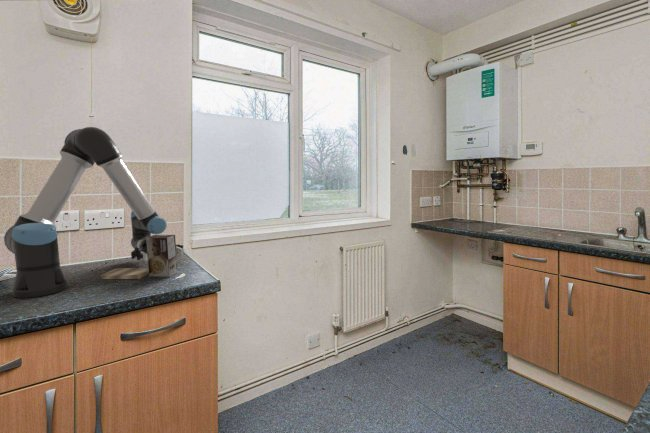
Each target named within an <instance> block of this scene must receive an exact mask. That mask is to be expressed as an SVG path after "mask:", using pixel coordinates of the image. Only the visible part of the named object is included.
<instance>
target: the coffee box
mask: <svg viewBox="0 0 650 433" xmlns="http://www.w3.org/2000/svg"><path fill="white" fill-rule="evenodd" d="M146 242H147V254H148V256H147V258H148V261H147V263H148V264H147V266H148V267H147V268H149V274H148V277H163V278H164V277H165V278H166V277H170V278H171V277H173V276H174V275H176V274H177V273H178V258H177V253H176V245H177V244H176V243H177V242H176V234H151V236H150V237H147V238H146Z"/></svg>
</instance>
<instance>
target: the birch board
mask: <svg viewBox="0 0 650 433" xmlns="http://www.w3.org/2000/svg"><path fill="white" fill-rule="evenodd" d="M147 275H149V267H128V268H127V267H126V268H125V267H119V268H117V267H115V268H114V269H112V270H109V271H107V272H105V273H103V274H101V275H100V280H136V279H137V280H140V279H142V278H143V277H145V276H147Z"/></svg>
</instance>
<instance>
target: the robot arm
mask: <svg viewBox="0 0 650 433" xmlns="http://www.w3.org/2000/svg"><path fill="white" fill-rule="evenodd" d="M63 142H64V143H63V146H62V147H61V149H60V151H59V154H60V156H61V158H60V159H59V160H60V161H58V163H57V165H56V167H55V168H54V169H53V172H52V173H51V174H50V176H49V177H48V179H47V182H46V183H45V184H44V186H43V188H42V189H41V191H40V192H39V194H38V196H37V197H36V198H35V200H34V202H33V204H32V205H31V207H30V208H29V210H28V211H27V212H26V213H23V214H22V213H21V214H20V215H19V216H18V217H17V219H16V221H15V222H14V224H13V225H12V226H11V227H9V228H8V230H6V232H5V234H4V237H3V239H4V240H3V241H4V245H5V247H6V249H7V250H8V251H9V252H11V253H12V254H14V260H15V261H14V262H15V267H16V268H15V271H16V274H15V278H14V282H13V284H12V288H11V295H12V297H13V298H16V297H17V298H18V299H27V298H38V297H43V296H48V295H52V294H55V293H59V292H62V291H65V289H67V288H68V287H69V282H68V278H67V277H66V275H65V273H64V271H63V269H62V267H61V260H60V252H59V250H60V249H59V242H58V235H59V234H58V231H57V225H56V224H55V222H56V220H57V218H58V217H59V215H60V214H61V212H62V211H63V208H64V207H65V205H66V203H67V202H68V200H69V198H70V196H71V195H72V193H73V191H74V190H75V188H76V186H77V185H78V183H79V182H80V180H81V178H82V176H83V175H84V173H85V172H86V169H90V168H93V167H94V165H95V164H96V166H97V167H101V168H102V169H103V170H104V172H105V174H106V175H107V177H108V178H109V179H110V181H111V183H112V184H113V185H114V187H115V188H116V189H117V191H118V193H120V195H121V197H122V198H123V200H124V201H125V203H126V204H127V205H128V207H129V209H131V211H130V221H131V232H132V234H131V235H132V238H131V239H130V240H131V241H130V244H131V245H130V246H132V248H133V250H132V251H130V252H131V254H130V255H131V259H132V260H134V259H136V261H141V260H143V261H144V262H148V254H147V242H146V238H147V237H150V236H152V235H161V234H162V233H164V232H165V230H166V229H167V221H166V220H165V219H164V218H163V217H161V216H160V215H159V214H158V212H156V210H155V208H154V207H153V206H152V204H151V202H150V201H149V199H148V198H147V196H146V194H145V193H144V191H143V190H142V188H141V187H140V186H139V184H138V182H137V180H136V179H135V178H134V176H133V174H132V173H131V171H130V170H129V168H128V167H127V165H126V164H125V162H124V161H123V154H122V153H121V151H120V150H119V148H118V146H117V144H116V143H115V142H114V140H113V139H112V138H111V137H110V135H109V134H108V133H107V132H105V131H104V130H102V129H101V128H98V127H96V126H95V127H93V126H88V127H87V126H86V127H83V128H78V129H74V130H72V131H70V132H69V133H68V134H67V135H66V136H65V139H64V141H63ZM177 254H178V255H180V256H184V245H182V244H176V255H177Z"/></svg>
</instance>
